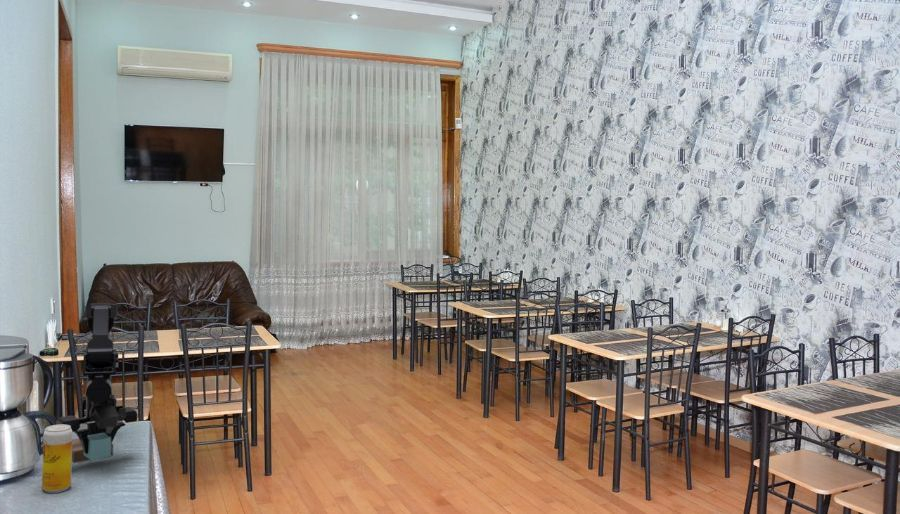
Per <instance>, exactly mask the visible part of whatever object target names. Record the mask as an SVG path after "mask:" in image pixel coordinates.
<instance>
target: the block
mask: <svg viewBox="0 0 900 514" xmlns="http://www.w3.org/2000/svg"><path fill="white" fill-rule="evenodd" d="M84 455H85V456H86V457H87V458H88V459H90V460H89V461H92V460H98V459H102V458H107V457H111V456H112V455H111V437H110V436H108V435H107V434H105V433H100V434H94V435H88V454H86V453H85V452H84Z"/></svg>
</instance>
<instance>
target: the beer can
mask: <svg viewBox="0 0 900 514" xmlns="http://www.w3.org/2000/svg"><path fill="white" fill-rule="evenodd" d="M42 437H43V438H42V439H43V440H42V442H43V443H42V473H41V475H42V476H41V477H42V480H41V482H42V483H41V484H42V485H41V488H42V489H43V490H44V491H45V492H46V493H49V494H57V493H61V492H66V491H67V490H68V489H69V487H70V486H71V485H72V468H73V467H72V465H73V464H72V463H73V462H72V440H73V432H72V429H71V426H70V425H65V424H59V425H56V424H53V425H48V426H47V427H46V428H45V429H44V431H43V436H42Z"/></svg>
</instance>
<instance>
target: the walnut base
mask: <svg viewBox="0 0 900 514" xmlns="http://www.w3.org/2000/svg"><path fill="white" fill-rule="evenodd" d="M113 455H114V444H113V443H112V444H111V455H110V456H113ZM88 460H89V461H91V460H90V459H88V458H87V457H86V456H85V455H84V449H83V447H82V445H81V442H80V440H79V438H75V439H72V463H78V462H85V461H88Z"/></svg>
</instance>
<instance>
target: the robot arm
mask: <svg viewBox="0 0 900 514" xmlns="http://www.w3.org/2000/svg"><path fill="white" fill-rule="evenodd" d="M117 318H118V305H114V304H113V303H108V302H107V303H106V302H105V303H89V305H85V306H84V320H87V324H86V325H87V328H88V329H89V330H90V332H91V334H92V337H91V339H89V341H87V344H86V350H83V360H82V361H83V365H82V368H83V369H82V376H86V388H85V395H84V396H82V407H81V408H82V409H81V412H82V413H81V416H82V417H80V418H77V416H75V415H74V414H73V415H66V416H60V417H58V418H57V419H56V421H55V425H59V424H65V425H70V426H71V429H72V433H75V434H76V436H77V437H78V439H79V440H80V442H81V445H82V447H83V449H84V452H85V453H86V454H88V435H94V434H100V433H105V434H107V435H108V436H110V437H111V444H113V441H114V438H115V437H116V434H117V433H118V430H119V429H121V428H122V427H125V426H126V424H129V423H134V422H137V421H138V420H139V419H138V417H139V415H138V412H137V410H135V409H133V408H131V407H130V406H126V405H117V399H116V397H115V394H113V392H112V390H113V389H112V375H116V373H117V371H118V370H119V353H118V352H117V350H116V349H114V341H112V339H110V337H109V333H110V332H111V331H112V329H113V327H114V326H115V320H117ZM112 367H113V368H112Z"/></svg>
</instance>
